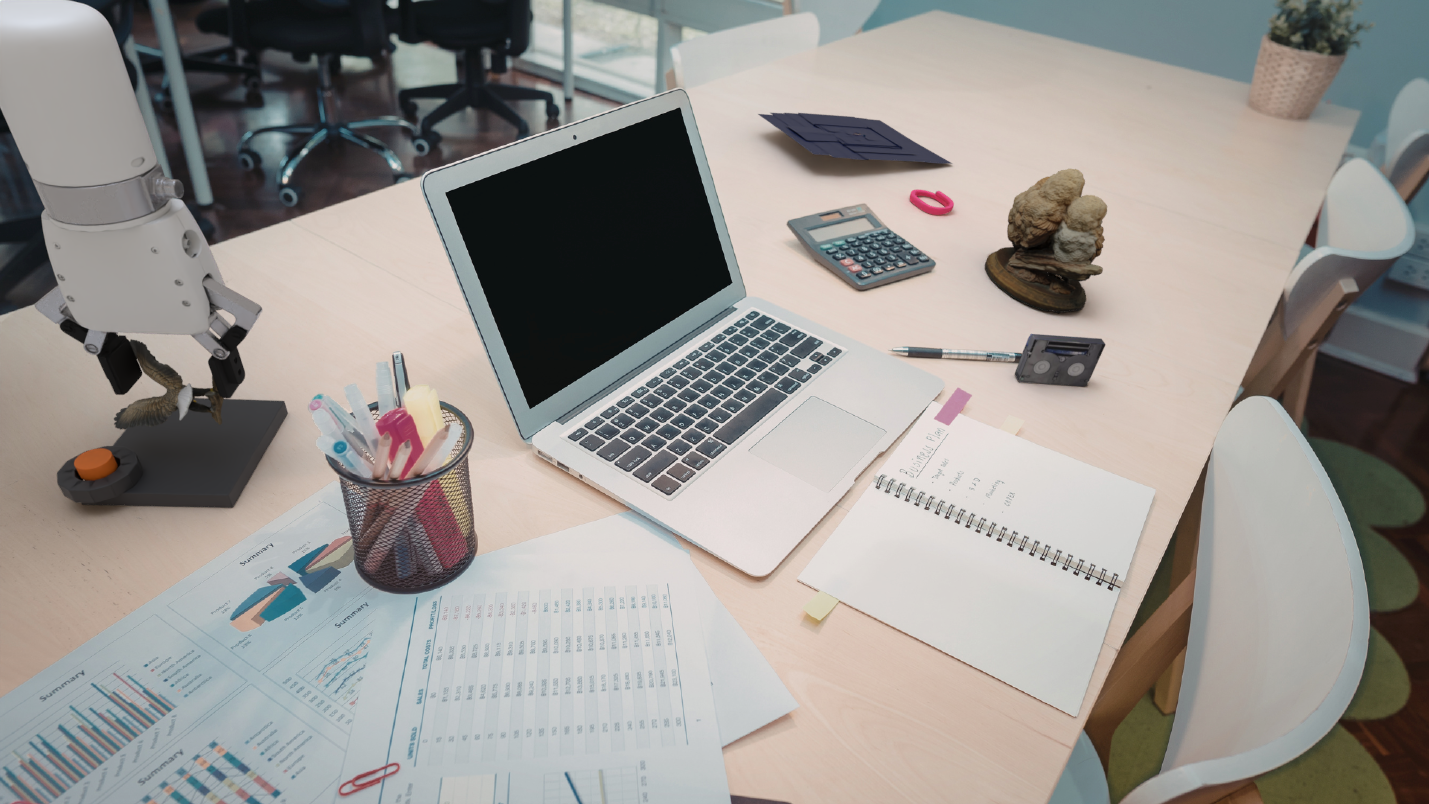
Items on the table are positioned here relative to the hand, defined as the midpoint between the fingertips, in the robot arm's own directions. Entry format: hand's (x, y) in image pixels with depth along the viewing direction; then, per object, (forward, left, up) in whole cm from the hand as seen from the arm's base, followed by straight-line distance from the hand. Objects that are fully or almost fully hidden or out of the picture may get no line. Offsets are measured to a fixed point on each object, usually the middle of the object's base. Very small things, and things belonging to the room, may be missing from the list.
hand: (181, 385), depth 69 cm
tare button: (-6, -5, -5) cm, 9 cm away
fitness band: (+86, +66, -8) cm, 108 cm away
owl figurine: (+94, +40, -8) cm, 102 cm away
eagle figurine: (-1, 0, -3) cm, 3 cm away
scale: (-1, 0, -8) cm, 8 cm away
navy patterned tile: (+77, +90, -8) cm, 118 cm away
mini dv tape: (+87, +17, -8) cm, 89 cm away
